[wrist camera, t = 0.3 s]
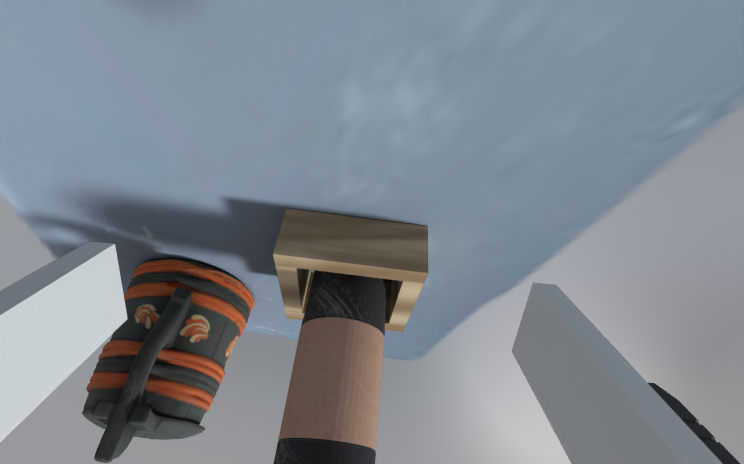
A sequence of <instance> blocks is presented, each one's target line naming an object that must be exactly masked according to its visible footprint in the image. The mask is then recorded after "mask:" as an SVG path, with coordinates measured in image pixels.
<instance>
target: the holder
mask: <svg viewBox="0 0 744 464" xmlns="http://www.w3.org/2000/svg"><path fill="white" fill-rule="evenodd" d="M273 257H274V262H275V266H276V271H277V275H278V280H279V284H280V289H281V294H282V298H283V303H284V307H285V312H286V316H287V318H290V319H299V320H303V317H304V313H305V309H306V305H307V301H308V297H309V293H310V289H311V284H312V280H313V276H314V273H311V270H317V271H325V272H333V273H341V274H350V275H358V276H366V277H374V278H382V279H390V280H392V282H391V283H387V282H386V305H385V330H391V331H399V332H403V330H404V328H405V325H406V323H407V321H408V318H409V316H410V314H411V312H412V309H413V307H414V305H415V302H416V300H417V298H418V295H419V293H420V291H421V288H422V286H423V284H424V282H425V279H426V277H427V275H428V226H421V225H413V224H405V223H398V222H390V221H382V220H374V219H366V218H358V217H350V216H342V215H335V214H327V213H319V212H311V211H303V210H295V209H287V208H286V211H285V215H284V218H283V222H282V225H281V228H280V232H279V235H278V238H277V242H276V245H275V248H274V252H273Z"/></svg>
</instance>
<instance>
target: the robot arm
mask: <svg viewBox="0 0 744 464" xmlns="http://www.w3.org/2000/svg"><path fill="white" fill-rule="evenodd" d="M127 319H128V318H127V312H126V306H125V300H124V294H123V288H122V283H121V277H120V271H119V265H118V259H117V253H116V247H115V244H113V243H102V242H91V241H89V242H87V243H85V244H83V245H82V246H80V247H78V248H76V249H74V250H73V251H71V252H69V253H67V254H65V255H64V256H62V257H60V258H58V259H57V260H55V261H53V262H51V263H49V264H48V265H46V266H44V267H43V268H41V269H39V270H37V271H35V272H33V273H32V274H30V275H28V276H26V277H24V278H23V279H21V280H19V281H17V282H15V283H14V284H12V285H10V286H8V287H6V288H5V289H3V290H1V291H0V442H1V441H2V440H3V439H4V438H5V437H6V436H7V435H8V434H9V433H10V432H11V431H12V430H13V429H14V428H15V427H16V426H17V425H18V424H20V423H21V422H22V421H23V420H24V419H25V418H26V417H27V416H28V415H29V414H30V413H31V412H32V411H33V410H34V409H35V408H36V407H37V406H38V405H39V404H40V403H41V402H42V401H43V400H44V399H45V398H46V397H47V396H48V395H49V394H51V392H53V391H54V390H55V389H56V388H57V387H58V386H59V385H60V384H61V383H62V382H63V381H64V380H65V379H66V378H67V377H68V376H69V375H70V374H71V373H72V372H73V371H74V370H75V369H76V368H77V367H78V366H79V365H81V364H82V363H83V362H84V361H85V360H86V359H87V358H88V357H89V356H90V355H91V354H92V353H93V352H94V351H95V350H96V349H97V348H98V347H99V346H100V345H101V344H102V343H103V342H104V341H105V340H106V339H107V338H108V337H109V336H110V335H111V334H113V333H114V332H115V331H116V330H117V329H118V328H119V327H120V326H121V325H122V324H123V323H124V322H125V321H126V320H127ZM512 353H513V355H514V356H515V358H516V360H517V362H518V364H519V366H520V368H521V369H522V371H523V373H524V375H525V377H526V379H527V381H528V383H529V385H530V386H531V388H532V390H533V392H534V394H535V396H536V398H537V400H538V401H539V403H540V405H541V407H542V409H543V411H544V413H545V415H546V416H547V418H548V420H549V422H550V424H551V426H552V428H553V430H554V432H555V433H556V435H557V437H558V439H559V441H560V443H561V445H562V446H563V448H564V450H565V452H566V454H567V456H568V458H569V460H570V462H571V463H572V464H740V463H739V462H738V461H737V460H736V459H735V458H734V457H733V456H732V455H731V454H730V453H729V452H728V451H727V450H726V449H725V448H724V446H723V445H721V444H720V443H718V442H716V441H715V437H714V436H713V435H712V434H711V433H710V432H709V431H708V430H707V429H706V428H705V427H704V426H703V425H699V423H698V420H697V419H696V418H695V417H694V416H693V415H692V414H691V413H690V412H689V411H688V410H687V409H686V408H685V407H684V406H683V405H682V404H681V403H680V402H679V401H678V400H677V399H676V398H674V397H673V396H671V395H670V394H669V393H667V392H666V391H664V390H663V389H662V388H660V387H659V386H657V385H656V384H655V383H647V382H646V381H645V380H644V379H643V378H642V377H641V375H639V373H638V372H637V371H636V370H635V369H634V368H633V367H632V366H631V365H630V364H629V363H628V362H627V360H626V359H625V358H624V357H623V356H622V355H621V354H620V353H619V352H618V351H617V350H616V349H615V348H614V346H613V345H612V344H611V343H610V342H609V341H608V340H607V339H606V338H605V337H604V336H603V335H602V334H601V332H600V331H599V330H598V329H597V328H596V327H595V326H594V325H593V324H592V323H591V322H590V321H589V320H588V318H586V316H585V315H584V314H583V313H582V312H581V311H580V310H579V309H578V308H577V307H576V306H575V305H574V303H573V302H572V301H571V300H570V299H569V298H568V297H567V296H566V295H565V294H564V293H563V292H562V291H561V290H560V289H559V287H558V286H557V285H553V284H542V283H533V285H532V287H531V291H530V294H529V297H528V301H527V304H526V307H525V310H524V313H523V317H522V320H521V323H520V326H519V329H518V333H517V336H516V339H515V343H514V345H513V349H512Z"/></svg>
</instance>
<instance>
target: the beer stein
mask: <svg viewBox="0 0 744 464" xmlns="http://www.w3.org/2000/svg"><path fill="white" fill-rule="evenodd" d="M124 300H125V306H126V312H127V318H128V319H127V320H126V321H125V322H124V323H123V324H122V325H121V326H120V327H119V328H118V329H117V330H116V331H115V332H114V333H113V335H112V338H111V340H110V342H108V343H107V344H106V345H105V346H104V348H103V351H102V353H101V354H100V356H99V362H98V363H97V366H96V369H95V370H94V373H93V376H92V377H91V379H90V383H89V384H88V386H87V391H88V392H89V395H88V397H87V400H86V403H85V406H84V410H83V412H82V414H83V415H84V416H85V417H86V418H87V419H88V420H89V421H91V422H92V423H94V424H95V425H97V426H99V427H101V428H104V429H106V430H105V432H104V434H103V436H102V438H101V441H100V444H99V446H98V448H97V451H96V454H95V460H96V461H99V462H103V463H109V462H111V461H112V460H113V459H115V458H117V457H119V456H120V455H121V454H122V453H123V452H124V450H125V449H126V448H127V446H128V445H129V443H130V441H131V440H132V438H133V436H135V437H141V438H150V439H181V438H186V437H190V436H194V435H196V434H199V433H201V432H202V431H204V430H205V428H204V427H202V426H200V425H199V424H200V422H201V420H202V418H203V416H204V414H205V413H206V412H207V411H208V410H209V409H210V405H211V404H212V402H213V398H214V397H215V395H216V391H217V390H218V388H219V385H220V384H221V382H222V379H223V377H224V375H225V371H224V367H225V365H226V363H227V361H228V359H229V356H230V354H231V352H232V349H233V347H234V345H235V342H236V340H237V338H238V337H239V336H240V335H241V334H242V333H243V330H244V328H245V326H246V323H247V321H248V317H249V314H250V312H251V309H252V308H253V305H254V298H253V296H252V293H251V292H250V291H249V290H248V288H247V287H246V286H245V285H244V284H243V283H242V282H240V281H239V280H237V279H236V278H234V277H232V276H231V275H229V274H227V273H225V272H222V271H220V270H218V269H215V268H212V267H208V266H205V265H203V264H199V263H196V262H191V261H190V262H186V261H182V260H177V259H161V260H150V261H147V262H145V263H143V264H141V265H140V266H139V267H137V269H136V270H135V271H134V273H133V277H132V279H131V282H130V284H129V287H128V290H127V292H126V294H125V296H124Z"/></svg>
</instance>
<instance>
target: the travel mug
mask: <svg viewBox="0 0 744 464" xmlns="http://www.w3.org/2000/svg"><path fill="white" fill-rule="evenodd" d="M385 305H386V279H382V278H374V277H366V276H358V275H350V274H341V273H333V272H325V271H317V270H315V272H314V276H313V280H312V284H311V289H310V293H309V297H308V301H307V305H306V309H305V313H304V317H303V321H302V327H301V330H300V335H299V340H298V345H297V350H296V355H295V360H294V365H293V370H292V375H291V380H290V385H289V390H288V395H287V400H286V405H285V410H284V415H283V420H282V425H281V430H280V435H279V441H278V445H277V450H276V455H275V460H274V464H375V456H376V442H377V429H378V416H379V402H380V389H381V376H382V362H383V350H384V334H385Z"/></svg>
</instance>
